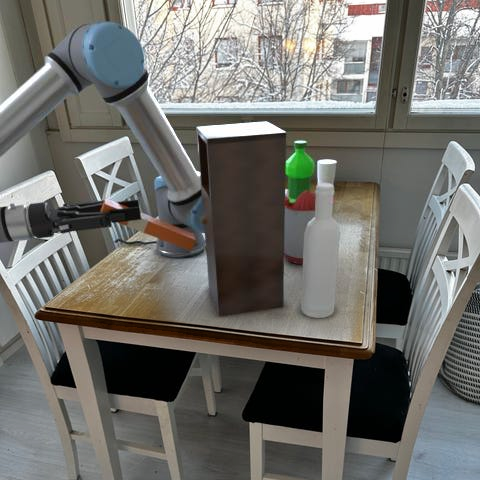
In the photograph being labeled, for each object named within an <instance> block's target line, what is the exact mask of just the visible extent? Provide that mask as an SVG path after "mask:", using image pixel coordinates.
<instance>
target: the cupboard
mask: <svg viewBox="0 0 480 480" xmlns="http://www.w3.org/2000/svg"><path fill="white" fill-rule="evenodd" d="M196 138H197V139H196V140H197V152H198V153H197V154H198V166H199V172H200V179H201V192H202V204H203V217H201V218H200V219H201V224H202V225H204V230H205V233H204V239H205V245H206V247H205V253H206V254H205V255H206V267H207V279H208V290H209V293H210V296H211V298H212V302H213V304H214V306H215V307H214V308H215V309H216V313H217V315H218V317H224V316H231V315H238V314H244V313H252V312H259V311H265V310H272V309H278V308H284V285H285V282H284V281H285V256H284V235H285V189H286V177H287V174H286V161H287V132H286V131H285V130H283V129H281V128H279V127H277V126H276V125H274V124H272V123H270V122H268V121H257V122H244V123H231V124H217V125H205V126H196Z"/></svg>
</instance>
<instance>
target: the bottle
mask: <svg viewBox="0 0 480 480" xmlns="http://www.w3.org/2000/svg"><path fill="white" fill-rule="evenodd" d="M314 193H315V194H316V203H315V217H314V218H313V219H312V220H311V221H310V222H308V225H307V227H306V230H305V233H304V253H303V264H302V278H301V279H302V280H301V282H302V284H301V298H300V299H301V300H300V305H301V306H300V308H301V309H300V310H301V312H302V313H303V314H304V315H305V316H307V317H310V318H314V319H324V318H328V317H330V316H331V315H333V314H334V312H335V304H336V289H337V278H338V277H337V276H338V268H339V267H338V266H339V255H340V241H341V230H340V226H339V223H338V222H337V221H336V220H335V219H334V217H333V218H332V208H333V209H334V207H333V199H334V195H335V185H332V184H330V183H320V184H318V183H317V184H316V187H315V191H314Z"/></svg>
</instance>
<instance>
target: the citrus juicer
mask: <svg viewBox="0 0 480 480" xmlns="http://www.w3.org/2000/svg"><path fill="white" fill-rule="evenodd" d="M315 203H316V194H315V192H311V190H310V191H308V190H305V191H304V192H303V193H302V194H301V195H300V196H299V197H298V198H297V199H296V201H295V202H293V203H292V202H290V199H289V198H288V197H287V196H285V235H284V259H286V261H289V262H290V263H294V264H297V265H303V253H304V233H305V230H306V227H307V225H308V222H310V221H311V220H312V219H313V218H314V217H315ZM335 203H336V200H335V199H334V198H333V208H332V218H333V219H334V207H335V206H334V205H335Z"/></svg>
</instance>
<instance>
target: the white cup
mask: <svg viewBox="0 0 480 480" xmlns="http://www.w3.org/2000/svg"><path fill="white" fill-rule="evenodd" d="M337 163H338V162H337V160H335V159H329V158H327V159H319V160H317V167H316V168H317V173H316V174H317V185H318V184H320V183H330V184H332V185H333V186H335V185H334V183H335V177H336V171H337Z"/></svg>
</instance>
